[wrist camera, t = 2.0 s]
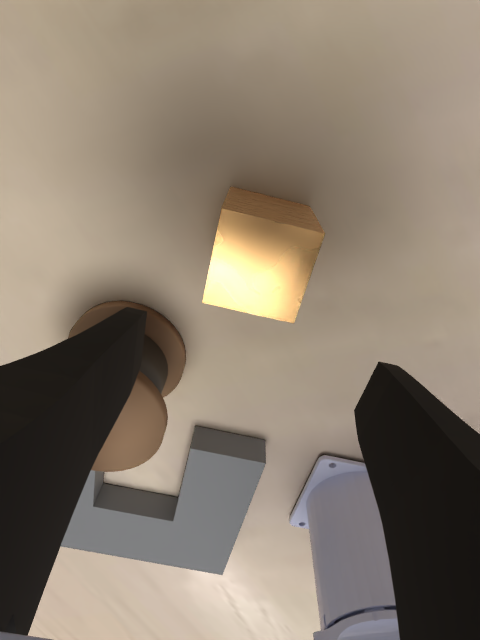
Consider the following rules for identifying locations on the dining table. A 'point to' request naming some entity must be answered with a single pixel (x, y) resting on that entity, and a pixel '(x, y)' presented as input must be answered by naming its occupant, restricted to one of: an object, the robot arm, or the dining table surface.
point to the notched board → (175, 508)
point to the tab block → (262, 255)
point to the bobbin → (140, 389)
